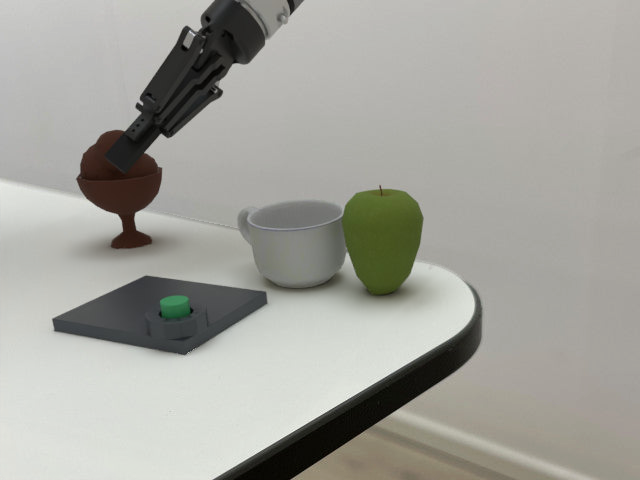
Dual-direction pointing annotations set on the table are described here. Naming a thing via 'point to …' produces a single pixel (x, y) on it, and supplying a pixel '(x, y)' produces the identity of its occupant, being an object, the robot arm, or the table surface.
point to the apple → (382, 237)
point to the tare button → (175, 307)
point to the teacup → (295, 240)
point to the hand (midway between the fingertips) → (114, 164)
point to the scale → (146, 318)
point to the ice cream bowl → (119, 188)
